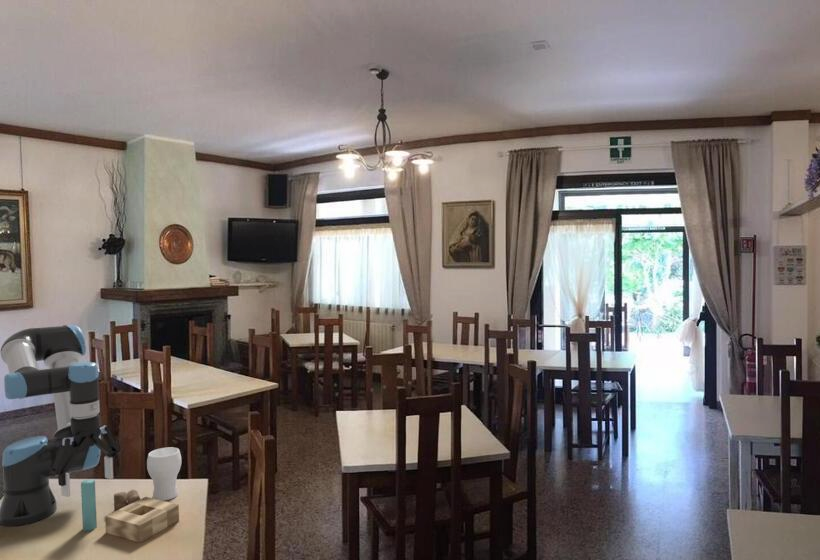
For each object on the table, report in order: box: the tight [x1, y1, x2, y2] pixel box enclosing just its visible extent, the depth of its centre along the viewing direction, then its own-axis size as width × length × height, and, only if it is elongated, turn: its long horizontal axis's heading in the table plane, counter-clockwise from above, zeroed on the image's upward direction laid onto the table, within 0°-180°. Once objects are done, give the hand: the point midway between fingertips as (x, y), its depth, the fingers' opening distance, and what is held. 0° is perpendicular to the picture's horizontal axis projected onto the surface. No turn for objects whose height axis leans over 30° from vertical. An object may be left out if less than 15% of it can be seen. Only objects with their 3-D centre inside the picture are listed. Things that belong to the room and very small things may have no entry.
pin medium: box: [126, 489, 141, 505], centre depth 181 cm, size 4×4×8 cm
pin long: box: [80, 479, 98, 532], centre depth 166 cm, size 4×4×14 cm
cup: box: [146, 446, 182, 502], centre depth 187 cm, size 11×11×15 cm
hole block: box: [104, 496, 180, 543], centre depth 167 cm, size 14×14×5 cm
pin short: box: [113, 491, 128, 512], centre depth 178 cm, size 4×4×5 cm
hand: (88, 486), depth 165 cm, fingers open, 13 cm apart
